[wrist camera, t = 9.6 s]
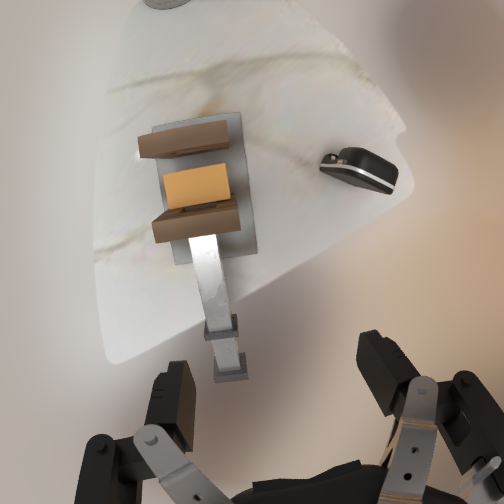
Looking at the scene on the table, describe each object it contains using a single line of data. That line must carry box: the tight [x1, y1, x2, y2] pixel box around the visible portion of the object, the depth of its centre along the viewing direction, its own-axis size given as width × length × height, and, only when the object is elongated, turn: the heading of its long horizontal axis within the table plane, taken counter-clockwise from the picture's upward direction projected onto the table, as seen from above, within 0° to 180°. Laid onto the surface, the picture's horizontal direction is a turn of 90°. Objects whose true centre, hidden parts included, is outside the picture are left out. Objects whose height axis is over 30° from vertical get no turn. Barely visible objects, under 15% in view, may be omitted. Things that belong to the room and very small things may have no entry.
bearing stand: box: [138, 112, 257, 265], centre depth 31 cm, size 20×12×14 cm, turn 7°
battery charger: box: [320, 147, 398, 195], centre depth 33 cm, size 7×4×11 cm, turn 72°
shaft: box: [189, 234, 248, 383], centre depth 32 cm, size 21×4×4 cm, turn 7°
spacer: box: [163, 163, 231, 210], centre depth 33 cm, size 4×7×7 cm, turn 98°
